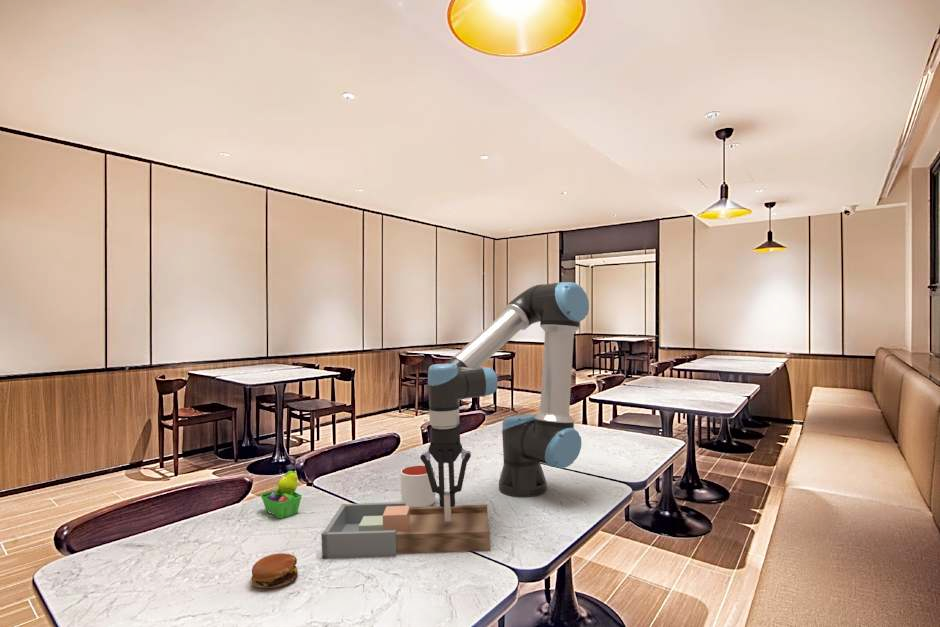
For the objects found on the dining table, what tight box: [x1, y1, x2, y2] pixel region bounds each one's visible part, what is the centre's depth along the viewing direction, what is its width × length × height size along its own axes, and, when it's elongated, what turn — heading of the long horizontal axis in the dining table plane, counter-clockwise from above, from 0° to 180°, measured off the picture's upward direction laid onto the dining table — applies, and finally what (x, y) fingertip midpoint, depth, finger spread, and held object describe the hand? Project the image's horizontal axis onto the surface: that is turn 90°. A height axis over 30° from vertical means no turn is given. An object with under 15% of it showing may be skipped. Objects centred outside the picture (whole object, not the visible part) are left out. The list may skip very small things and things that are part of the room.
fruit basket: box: [260, 470, 303, 519], centre depth 148 cm, size 11×9×11 cm
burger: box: [250, 552, 299, 589], centre depth 109 cm, size 10×9×5 cm
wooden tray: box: [396, 504, 491, 555], centre depth 128 cm, size 22×17×4 cm
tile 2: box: [383, 506, 410, 531], centre depth 128 cm, size 6×6×4 cm
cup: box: [400, 464, 436, 507], centre depth 151 cm, size 10×10×10 cm
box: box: [321, 501, 406, 559], centre depth 128 cm, size 17×19×6 cm
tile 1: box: [359, 516, 383, 531], centre depth 128 cm, size 6×6×4 cm
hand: (448, 519), depth 128 cm, fingers closed
